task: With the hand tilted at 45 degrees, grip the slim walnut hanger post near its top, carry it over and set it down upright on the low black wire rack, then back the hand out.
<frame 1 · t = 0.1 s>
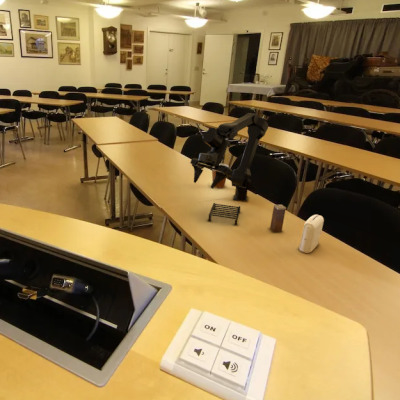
hand: (202, 185, 138), 15 cm above the table, tool tilted 35°, fingers open, 9 cm apart
hanger post: (275, 230, 130), on the table
disposable coffee cup: (218, 186, 178), on the table
wire rack: (224, 216, 143), on the table
photo printer: (308, 247, 118), on the table
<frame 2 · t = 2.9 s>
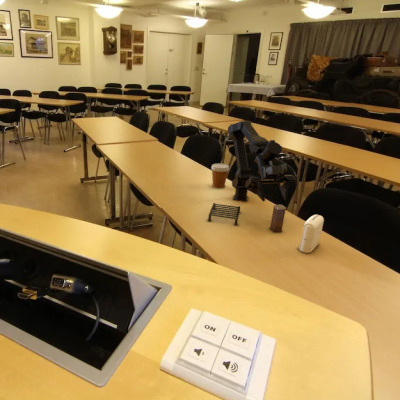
hand: (275, 200, 129), 11 cm above the table, tool tilted 45°, fingers open, 9 cm apart
nothing on the table moved.
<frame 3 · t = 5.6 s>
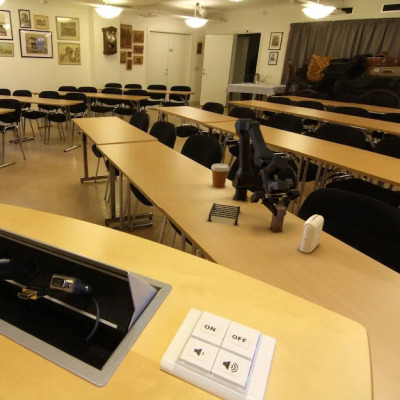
hand: (280, 215, 126), 7 cm above the table, tool tilted 45°, fingers closed on hanger post, 3 cm apart
hanger post: (275, 230, 130), on the table, touching gripper
everything else where it was.
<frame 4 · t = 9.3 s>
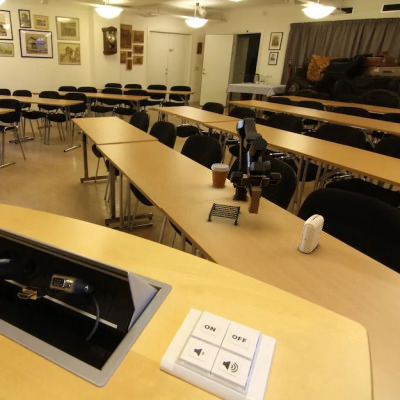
hand: (255, 197, 127), 14 cm above the table, tool tilted 45°, fingers closed on hanger post, 3 cm apart
hanger post: (252, 212, 131), point 7 cm above the table, touching gripper
everything else where it was.
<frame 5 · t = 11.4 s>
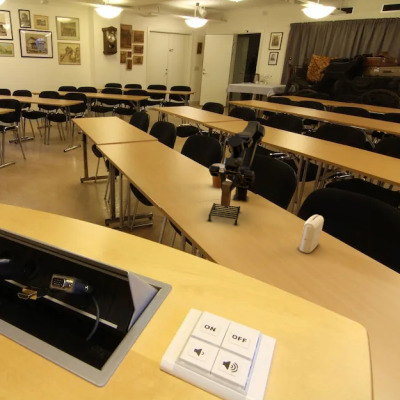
hand: (225, 191, 135), 13 cm above the table, tool tilted 45°, fingers closed on hanger post, 3 cm apart
hanger post: (225, 205, 139), point 6 cm above the table, touching gripper
everything else where it was.
when the fingers open (10 cm above the table, at t = 13.0 s): hanger post stays where it is, resting on wire rack.
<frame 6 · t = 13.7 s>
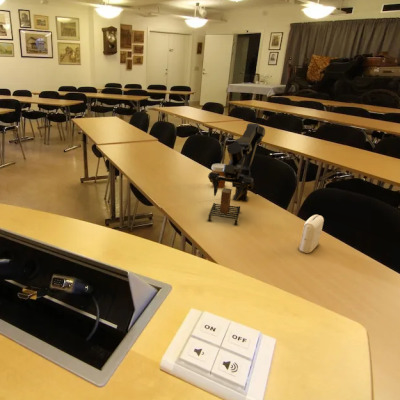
hand: (225, 197, 136), 10 cm above the table, tool tilted 45°, fingers open, 9 cm apart
hanger post: (224, 212, 140), point 3 cm above the table, touching wire rack
everything else where it was.
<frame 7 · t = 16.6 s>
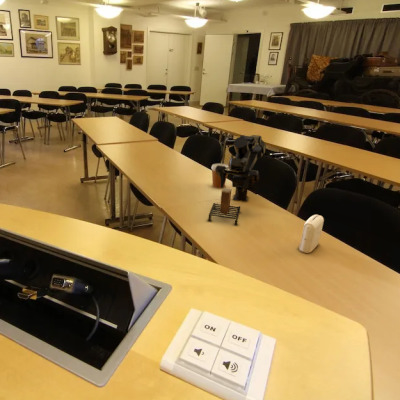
hand: (231, 189, 143), 11 cm above the table, tool tilted 45°, fingers open, 9 cm apart
nothing on the table moved.
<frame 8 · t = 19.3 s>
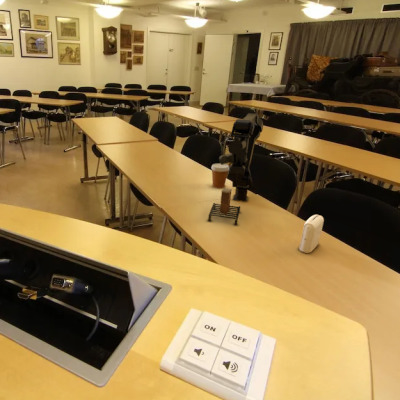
hand: (236, 182, 145), 13 cm above the table, tool pointing down, fingers open, 9 cm apart
nothing on the table moved.
at the end: hanger post inside the target area on the wire rack (1.2 cm from its centre), point 3.0 cm above the wire rack's base; hanger post tilted 2°; the gripper is holding nothing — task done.
